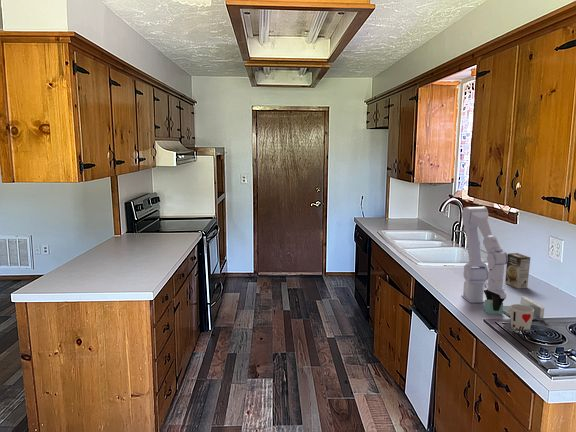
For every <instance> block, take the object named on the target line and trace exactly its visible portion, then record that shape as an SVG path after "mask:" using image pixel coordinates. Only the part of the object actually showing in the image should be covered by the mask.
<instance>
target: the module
mask: <svg viewBox="0 0 576 432" xmlns="http://www.w3.org/2000/svg"><path fill="white" fill-rule="evenodd" d="M484 300H485V302H484V309H483V311H484V310H485V311H486V312H485V311H484V312H485V313H486V314H488V313H489V314H488V315H498V314H497V313H502V314H503V306H504V301H503V302H502V304H501V307H500V309H499V311H494V310H493V300H487V299H484Z"/></svg>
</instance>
